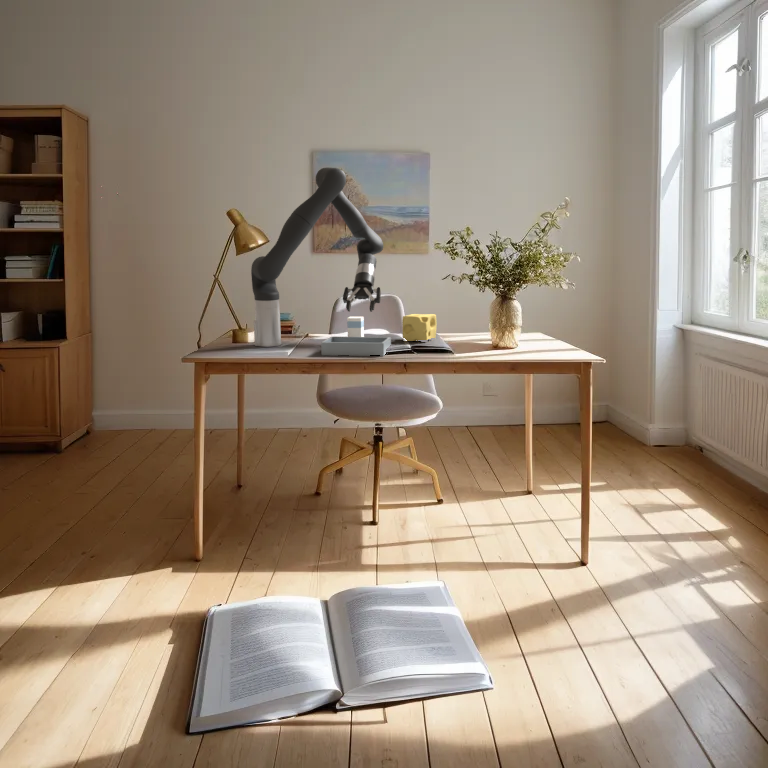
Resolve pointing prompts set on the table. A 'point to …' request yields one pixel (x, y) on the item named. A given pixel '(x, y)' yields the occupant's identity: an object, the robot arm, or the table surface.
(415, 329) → the cheese
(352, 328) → the milk carton
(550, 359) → the table surface
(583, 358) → the table surface
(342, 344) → the tray
